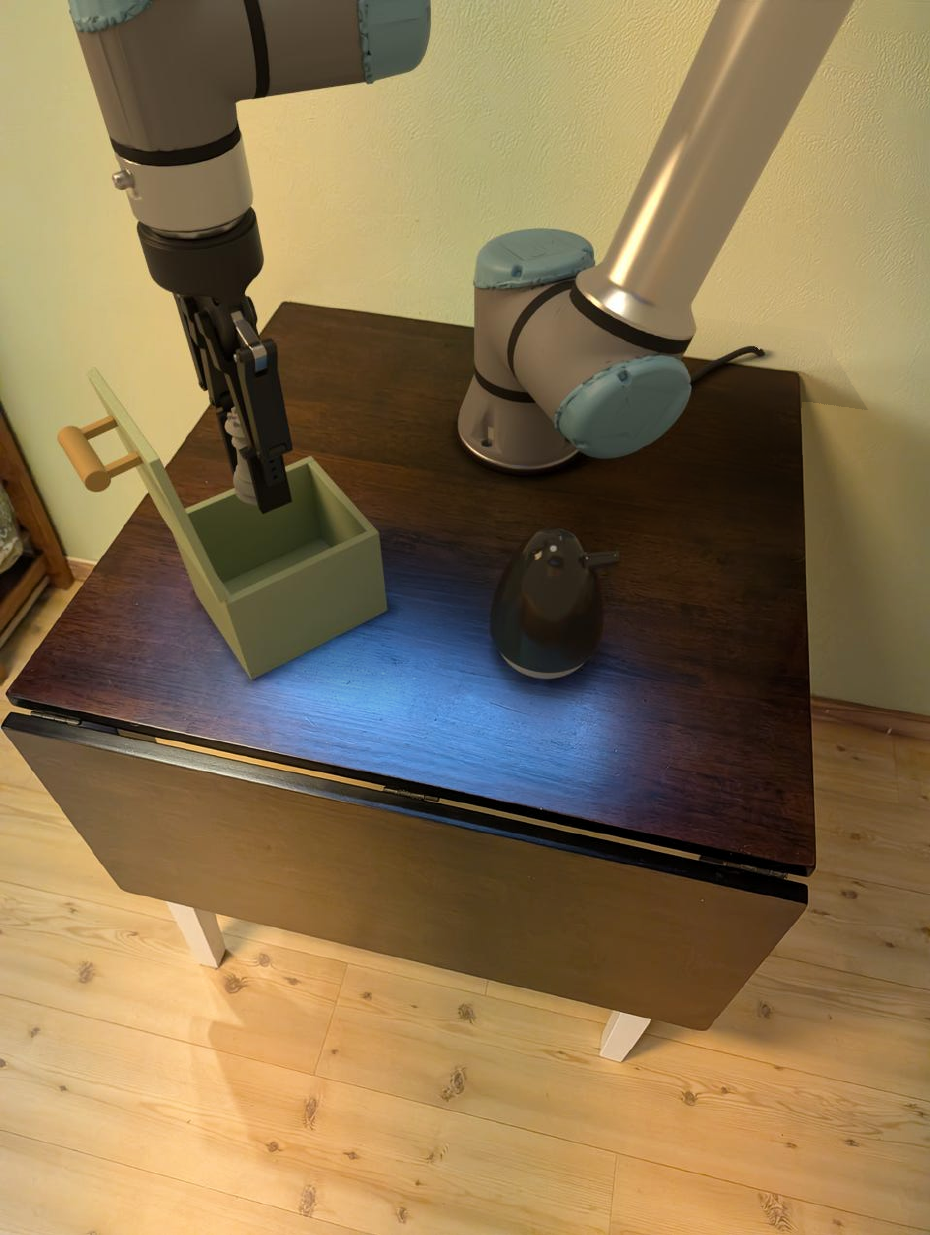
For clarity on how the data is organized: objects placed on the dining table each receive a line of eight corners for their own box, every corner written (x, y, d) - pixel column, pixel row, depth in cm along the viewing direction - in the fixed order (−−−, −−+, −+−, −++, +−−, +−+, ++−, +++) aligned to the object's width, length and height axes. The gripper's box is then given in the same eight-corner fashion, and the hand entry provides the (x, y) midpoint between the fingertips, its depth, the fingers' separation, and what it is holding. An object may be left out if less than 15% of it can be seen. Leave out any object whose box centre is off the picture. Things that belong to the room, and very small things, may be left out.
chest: (325, 535, 89) (311, 455, 81) (387, 610, 82) (379, 532, 74) (196, 594, 84) (166, 516, 75) (251, 680, 77) (225, 605, 69)
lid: (94, 366, 63) (29, 394, 61) (159, 457, 56) (88, 491, 55) (168, 510, 75) (116, 536, 74) (228, 599, 69) (172, 629, 67)
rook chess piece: (244, 470, 73) (224, 394, 67) (294, 475, 73) (279, 399, 67) (228, 505, 71) (206, 429, 64) (280, 511, 70) (262, 435, 64)
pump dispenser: (593, 705, 75) (617, 595, 64) (479, 686, 77) (482, 574, 65) (604, 618, 82) (628, 503, 70) (499, 602, 83) (504, 486, 71)
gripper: (90, 176, 57) (180, 449, 75) (194, 290, 48) (267, 569, 66) (195, 149, 59) (257, 419, 77) (312, 252, 50) (351, 530, 68)
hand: (261, 487), depth 72 cm, fingers closed on rook chess piece, 4 cm apart
